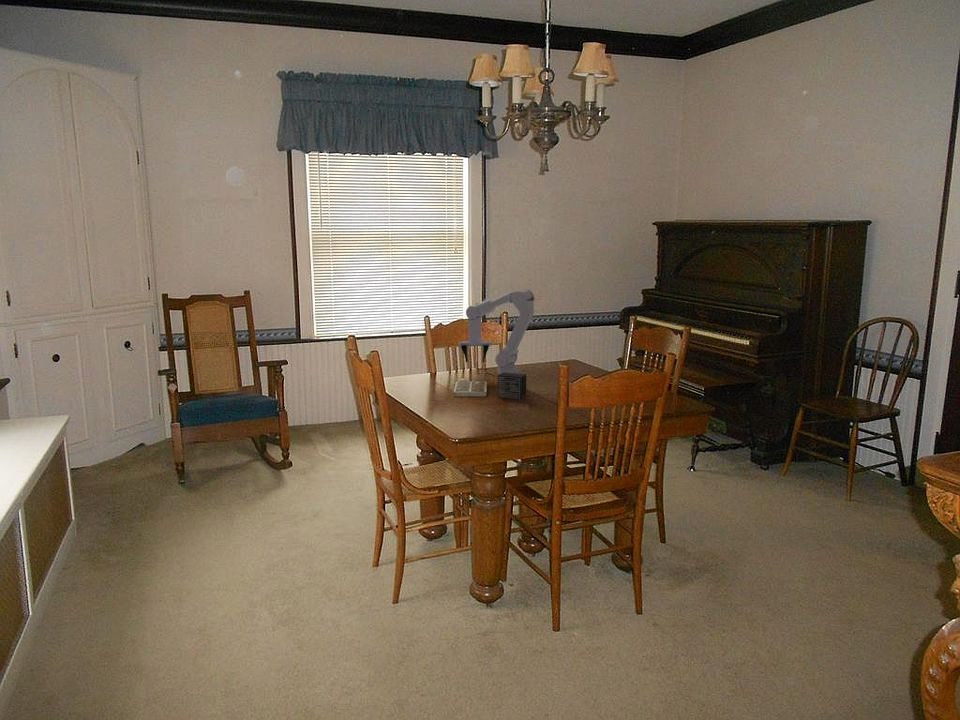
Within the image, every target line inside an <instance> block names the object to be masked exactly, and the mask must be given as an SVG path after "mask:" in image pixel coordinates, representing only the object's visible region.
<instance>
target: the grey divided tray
mask: <svg viewBox="0 0 960 720" xmlns="http://www.w3.org/2000/svg"><path fill="white" fill-rule="evenodd" d="M467 381H468V388H459V384H458V383H459V380H458V381H455V385H454V388H453V397H487V389H488V387H487V386H488V383H487V382H488V381H486V380H485V381H484V380H483V392H473V384H474V380H473V381H471V380H470V381H469V380H467Z"/></svg>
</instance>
